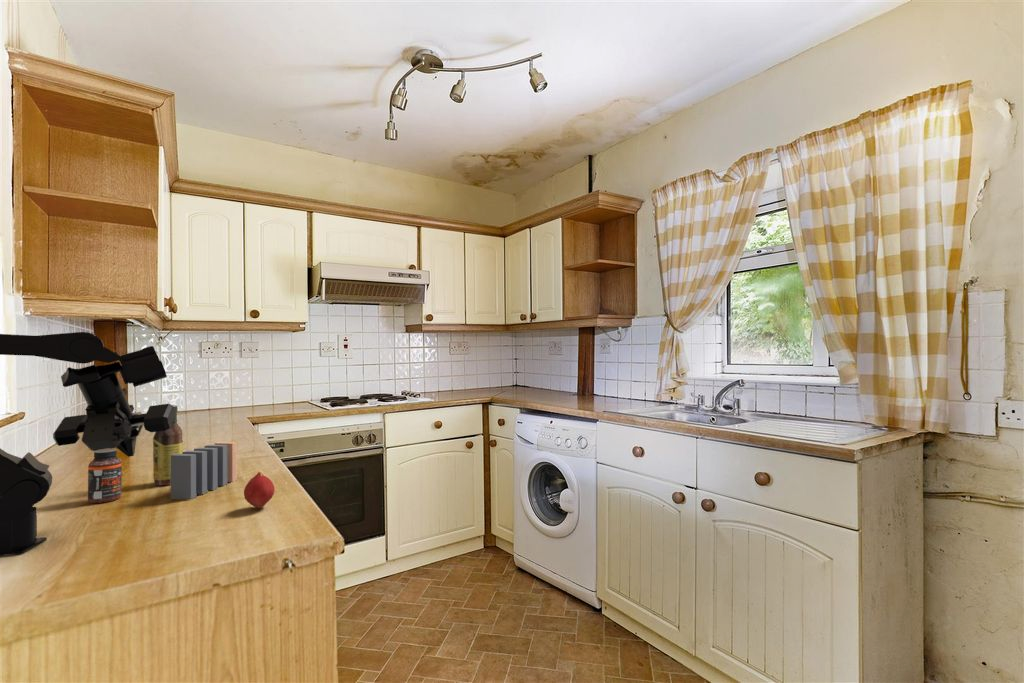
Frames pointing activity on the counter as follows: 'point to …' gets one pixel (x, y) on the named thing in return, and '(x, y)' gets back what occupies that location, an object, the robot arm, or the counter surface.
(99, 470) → the supplement bottle
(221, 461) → the domino
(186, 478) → the domino
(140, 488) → the counter surface
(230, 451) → the domino
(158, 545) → the counter surface
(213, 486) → the domino
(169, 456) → the sauce bottle
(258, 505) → the onion
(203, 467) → the domino
